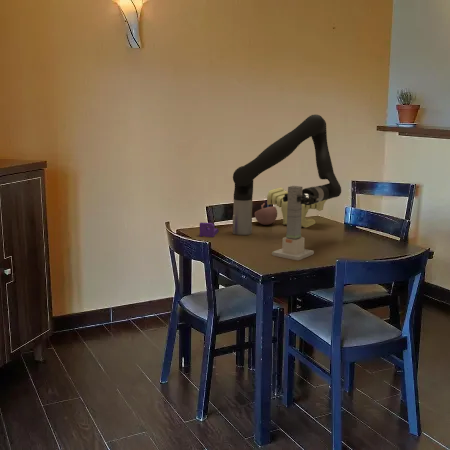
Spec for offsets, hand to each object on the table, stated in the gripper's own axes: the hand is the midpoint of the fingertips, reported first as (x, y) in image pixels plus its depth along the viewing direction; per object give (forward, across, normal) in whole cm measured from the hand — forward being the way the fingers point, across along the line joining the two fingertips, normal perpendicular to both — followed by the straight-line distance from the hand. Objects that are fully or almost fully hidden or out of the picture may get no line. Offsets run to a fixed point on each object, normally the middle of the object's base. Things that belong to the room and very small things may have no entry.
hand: (292, 200), depth 242 cm
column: (-2, 0, +16) cm, 16 cm away
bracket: (-8, -52, +25) cm, 59 cm away
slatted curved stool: (-56, -30, +24) cm, 67 cm away
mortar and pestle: (-44, -43, +24) cm, 66 cm away
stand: (-2, 0, +24) cm, 24 cm away
